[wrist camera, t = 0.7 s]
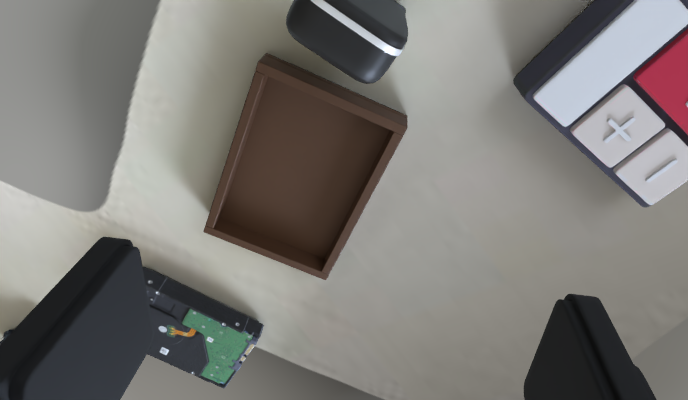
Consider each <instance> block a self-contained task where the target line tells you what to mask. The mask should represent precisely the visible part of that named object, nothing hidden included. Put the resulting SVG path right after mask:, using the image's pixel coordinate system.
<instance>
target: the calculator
mask: <svg viewBox="0 0 688 400" xmlns="http://www.w3.org/2000/svg"><path fill="white" fill-rule="evenodd" d="M514 84H515V86H516V87H517V89H518V90H519V92H520V93H521V95H522V96H523V97H524V99H525V100H526V101H527V102H528V103H529V104H530V105H531V106H532V107H533V108H535V109H536V110H537V111H538V112H539V113H540V114H541V115H542V116H543V117H544V118H546V119H547V120H548V121H549V122H550V123H551V124H552V125H553V126H554V127H555V128H556V129H558V130H559V131H560V132H561V133H562V134H563V135H564V136H565V137H566V138H567V139H569V140H570V141H571V142H572V143H573V144H574V145H575V146H576V147H577V148H578V149H579V150H581V151H582V152H583V153H584V154H585V155H586V156H587V157H588V158H589V159H590V160H592V161H593V162H594V163H595V164H596V165H597V166H598V167H599V168H600V169H601V170H602V171H604V172H605V173H606V174H607V175H608V176H609V177H610V178H611V179H612V180H613V181H615V182H616V183H617V184H618V185H619V186H620V187H621V188H622V189H623V190H624V191H625V192H627V193H628V194H629V195H630V196H631V197H632V198H633V199H634V200H635V201H636V202H638V203H639V204H640V205H641V206H642V207H649V206H651V205H652V204H654V203H656V202H657V201H659V200H660V199H662V198H663V197H665V196H666V195H668V194H669V193H670V192H672V191H673V190H675V189H676V188H678V187H679V186H681V185H682V184H683V183H685V182H686V181H688V0H595V1H594V2H593V3H592V4H590V5H589V6H588V7H587V8H586V9H585V10H584V11H583V12H582V13H581V14H580V15H579V16H578V17H577V18H576V19H575V20H574V21H573V22H572V23H571V24H570V25H569V26H568V27H567V28H566V29H565V30H564V31H562V32H561V33H560V34H559V35H558V36H557V37H556V38H555V39H554V40H553V41H552V42H551V43H550V44H549V45H548V46H547V47H546V48H545V49H544V50H543V51H542V52H541V53H540V54H539V55H538V56H537V57H535V58H534V59H533V60H532V61H531V62H530V63H529V64H528V65H527V66H526V67H525V68H524V69H523V70H522V71H521V72H520V73H519V74H518V75H517V76H516V77H515V78H514Z"/></svg>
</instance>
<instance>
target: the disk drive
mask: <svg viewBox="0 0 688 400" xmlns="http://www.w3.org/2000/svg"><path fill="white" fill-rule="evenodd" d="M143 273H144V278H145V284H146V290H147V295H148V301H149V306H150V312H151V318H152V323H153V329H154V338H153V342H152V345H151V347H150V349H149V351H148V353H147V354H148V355H150V356H153V357H155V358H157V359H160V360H162V361H164V362H166V363H169V364H170V365H173V366H175V367H178V368H179V369H181V370H183V371H186V372H188V373H191V374H193V375H195V376H197V377H199V378H201V379H203V380H205V381H207V382H211V383H213V384H215V385H217V386H219V387H222V388H225V387H226V386H227V384H228V383H229V382H230V380H231V379H232V377H233V376H234V374H235V373H236V372H237V371H238V370H239V368H240V367H241V365H242V362H243V361H244V360H245V358H246V357H247V355H248V354H249V353H250V352H251V350H252V349H253V347H254V346H255V345H256V343H257V341H258V339H259V338H260V336H261V333H262V330H263V326H264V325H263V324H261V323H259V322H258V321H257V320H255V319H253V318H251V317H249V316H247V315H245V314H243V313H241V312H238V311H237V310H235V309H233V308H230V307H228V306H226V305H224V304H222V303H220V302H218V301H216V300H214V299H211V298H209V297H207V296H205V295H203V294H201V293H199V292H197V291H195V290H193V289H191V288H189V287H187V286H185V285H183V284H181V283H179V282H177V281H175V280H172V279H170V278H168V277H166V276H164V275H162V274H159V273H157V272H156V271H152V270H150V269H147V268H146V267H143Z"/></svg>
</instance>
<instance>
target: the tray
mask: <svg viewBox="0 0 688 400" xmlns="http://www.w3.org/2000/svg"><path fill="white" fill-rule="evenodd" d="M406 129H407V115H404V114H402V113H400V112H398V111H395V110H393V109H391V108H389V107H386V106H384V105H382V104H380V103H377V102H375V101H373V100H371V99H369V98H366V97H364V96H362V95H360V94H357V93H355V92H353V91H351V90H348V89H346V88H344V87H342V86H339V85H337V84H335V83H333V82H330V81H328V80H326V79H324V78H322V77H319V76H317V75H315V74H313V73H310V72H308V71H306V70H304V69H301V68H299V67H297V66H295V65H292V64H290V63H288V62H286V61H284V60H281V59H279V58H277V57H275V56H272V55H270V54H268V53H266V54H265V55H264V56H263V57H262V58H261V59H260V60H259V61H258V64H257V67H256V71H255V74H254V77H253V80H252V83H251V86H250V89H249V92H248V95H247V98H246V101H245V105H244V108H243V111H242V114H241V117H240V120H239V123H238V126H237V129H236V132H235V136H234V139H233V142H232V145H231V148H230V151H229V154H228V157H227V160H226V163H225V167H224V170H223V173H222V176H221V179H220V182H219V185H218V188H217V191H216V194H215V197H214V201H213V204H212V207H211V210H210V213H209V216H208V219H207V222H206V226H205V228H204V232H205V233H208V234H210V235H213V236H215V237H218V238H220V239H223V240H225V241H228V242H231V243H233V244H236V245H238V246H241V247H243V248H246V249H248V250H251V251H253V252H256V253H258V254H261V255H263V256H266V257H268V258H271V259H273V260H276V261H279V262H281V263H284V264H286V265H289V266H291V267H294V268H296V269H299V270H301V271H304V272H306V273H309V274H311V275H314V276H316V277H319V278H322V279H324V280H326V279H327V278H328V276H329V274H330V272H331V270H332V268H333V266H334V264H335V263H336V261H337V259H338V257H339V255H340V253H341V251H342V249H343V248H344V246H345V244H346V242H347V240H348V238H349V236H350V234H351V233H352V231H353V229H354V227H355V225H356V223H357V221H358V219H359V218H360V216H361V214H362V212H363V210H364V208H365V206H366V204H367V203H368V201H369V199H370V197H371V195H372V193H373V191H374V189H375V188H376V186H377V184H378V182H379V180H380V178H381V176H382V174H383V173H384V171H385V169H386V167H387V165H388V163H389V161H390V159H391V158H392V156H393V154H394V152H395V150H396V148H397V146H398V144H399V143H400V141H401V139H402V137H403V135H404V133H405V131H406Z"/></svg>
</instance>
